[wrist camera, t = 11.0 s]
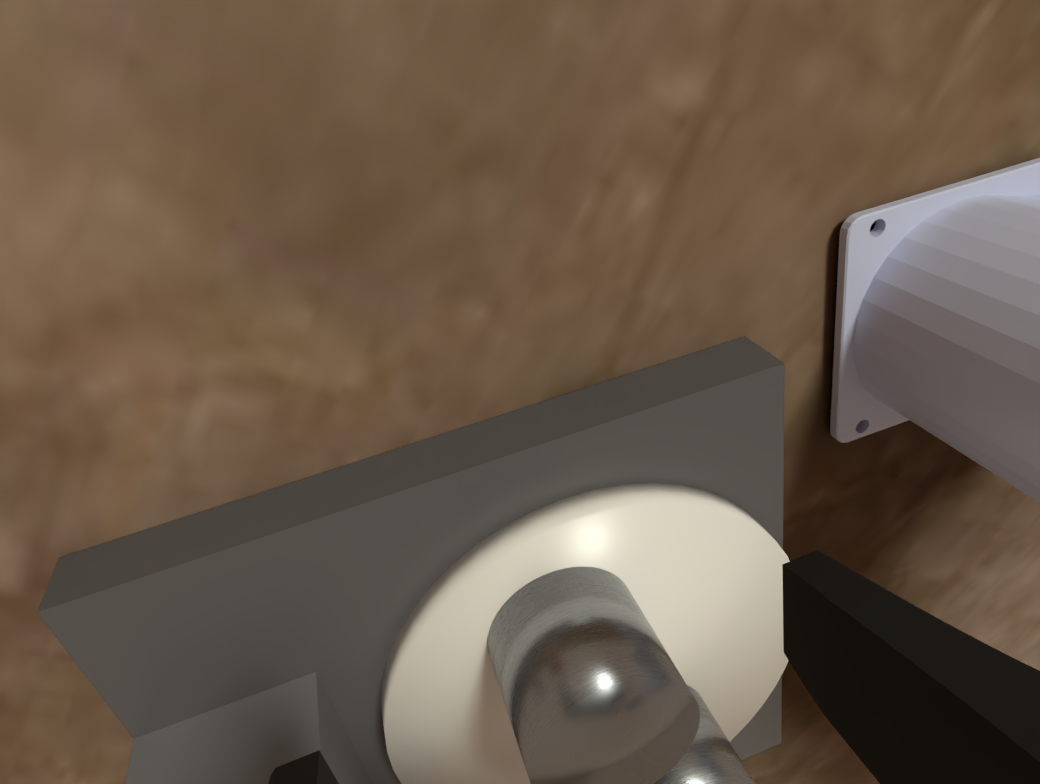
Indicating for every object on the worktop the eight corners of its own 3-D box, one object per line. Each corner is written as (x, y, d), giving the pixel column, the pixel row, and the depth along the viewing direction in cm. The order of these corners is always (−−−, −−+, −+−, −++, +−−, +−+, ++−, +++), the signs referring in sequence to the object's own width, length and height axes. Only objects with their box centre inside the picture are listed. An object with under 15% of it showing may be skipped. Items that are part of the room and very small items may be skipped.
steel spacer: (619, 543, 20) (688, 651, 16) (643, 646, 22) (708, 760, 19) (468, 606, 19) (508, 732, 16) (509, 705, 22) (551, 833, 18)
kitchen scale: (744, 336, 22) (888, 434, 17) (753, 702, 31) (847, 838, 26) (59, 557, 18) (-26, 763, 13) (296, 893, 27) (300, 1092, 22)
